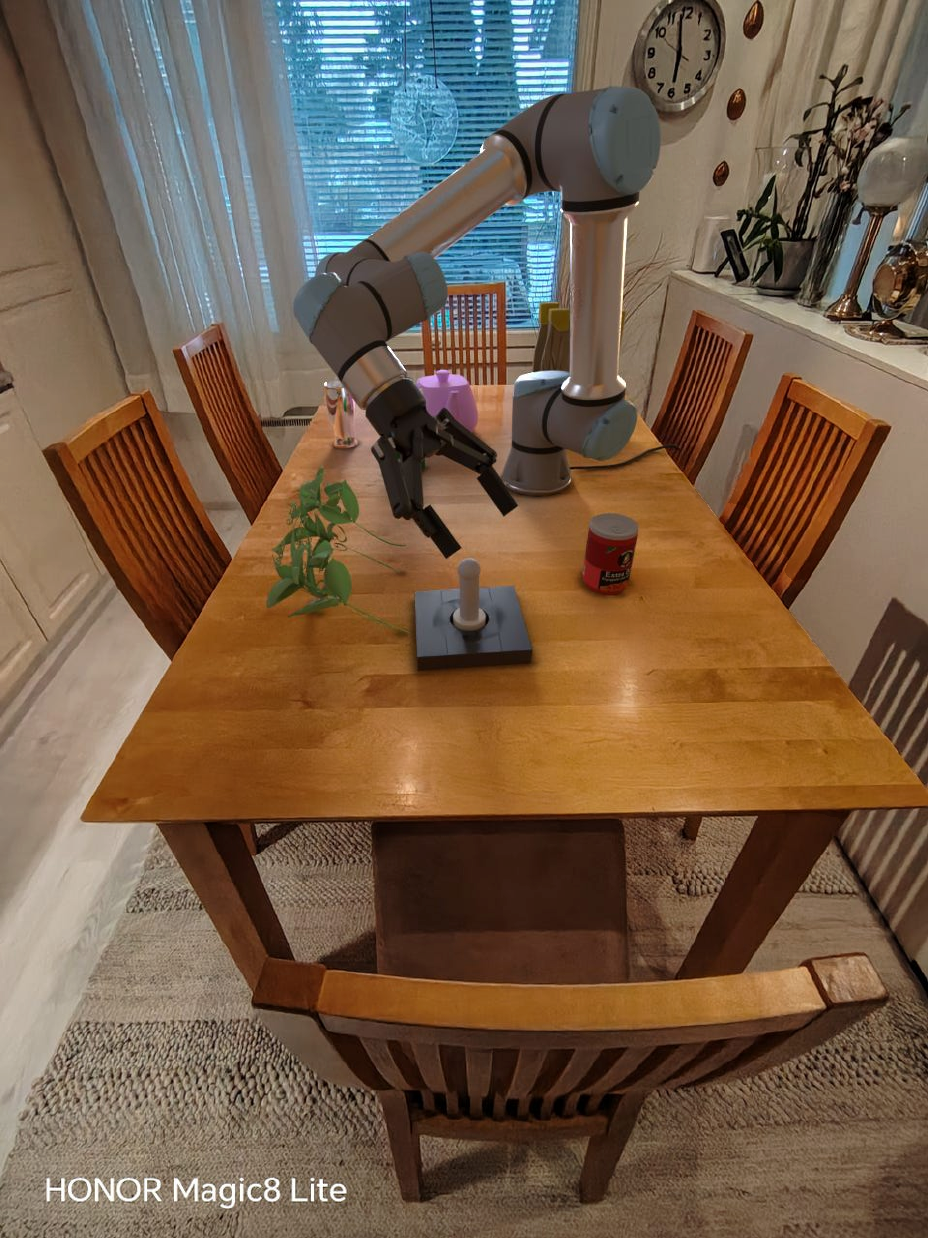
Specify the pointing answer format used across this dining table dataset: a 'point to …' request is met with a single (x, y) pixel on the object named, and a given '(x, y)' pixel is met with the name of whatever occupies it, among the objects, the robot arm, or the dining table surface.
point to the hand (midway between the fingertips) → (484, 531)
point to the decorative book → (556, 338)
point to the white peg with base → (469, 597)
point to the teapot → (450, 397)
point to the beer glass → (341, 414)
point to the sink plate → (462, 648)
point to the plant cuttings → (318, 548)
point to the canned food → (609, 552)
